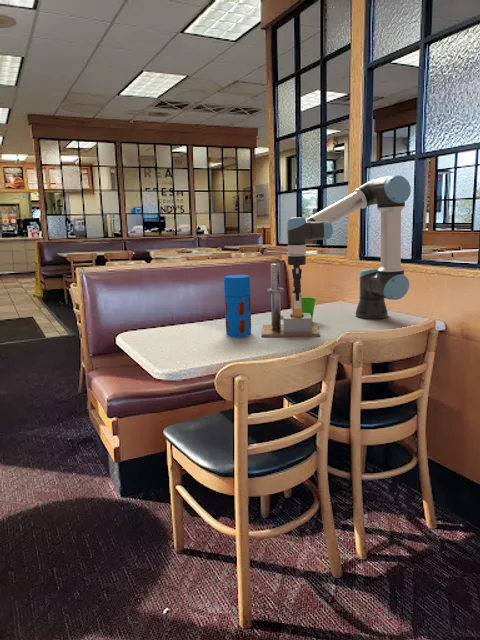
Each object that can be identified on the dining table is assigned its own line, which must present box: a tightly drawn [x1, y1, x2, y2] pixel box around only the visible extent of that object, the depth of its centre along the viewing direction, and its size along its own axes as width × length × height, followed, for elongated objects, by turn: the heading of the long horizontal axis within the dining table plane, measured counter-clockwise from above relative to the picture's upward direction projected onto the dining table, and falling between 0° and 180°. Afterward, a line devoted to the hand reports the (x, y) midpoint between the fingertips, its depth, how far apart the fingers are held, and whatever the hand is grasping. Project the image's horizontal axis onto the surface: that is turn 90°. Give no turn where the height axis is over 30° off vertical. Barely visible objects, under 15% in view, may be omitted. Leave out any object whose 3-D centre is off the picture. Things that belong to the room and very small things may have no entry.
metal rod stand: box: [261, 263, 321, 338], centre depth 208 cm, size 24×18×29 cm
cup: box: [302, 296, 317, 319], centre depth 228 cm, size 9×9×11 cm
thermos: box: [223, 274, 252, 338], centre depth 206 cm, size 11×11×25 cm
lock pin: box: [291, 294, 303, 317], centre depth 208 cm, size 4×4×15 cm
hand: (297, 305), depth 207 cm, fingers open, 13 cm apart
